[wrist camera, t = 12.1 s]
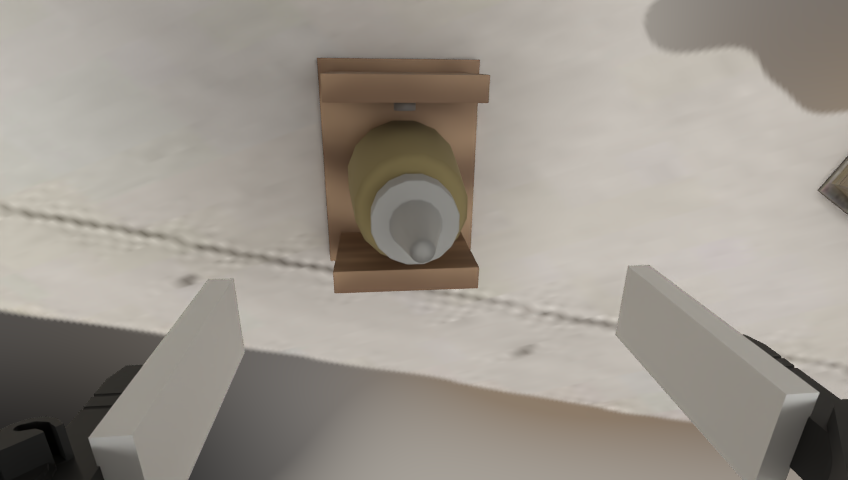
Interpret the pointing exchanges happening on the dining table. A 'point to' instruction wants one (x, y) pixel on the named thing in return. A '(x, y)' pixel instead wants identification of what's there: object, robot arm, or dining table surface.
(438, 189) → the squeeze bottle
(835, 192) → the book
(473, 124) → the holder
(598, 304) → the dining table surface
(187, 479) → the robot arm
